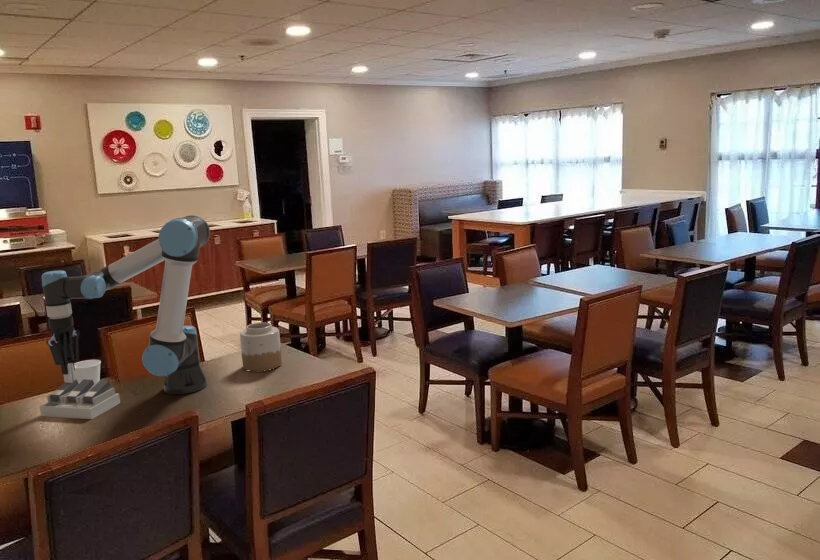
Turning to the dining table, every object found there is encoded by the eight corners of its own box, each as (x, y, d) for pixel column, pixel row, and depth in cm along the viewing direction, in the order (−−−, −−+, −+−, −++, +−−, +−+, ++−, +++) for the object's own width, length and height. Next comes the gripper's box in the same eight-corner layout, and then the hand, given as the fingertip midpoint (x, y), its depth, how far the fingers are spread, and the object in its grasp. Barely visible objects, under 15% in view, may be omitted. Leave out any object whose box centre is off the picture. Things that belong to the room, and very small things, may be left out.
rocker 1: (78, 384, 225) (76, 379, 224) (61, 400, 217) (59, 395, 216) (70, 383, 226) (68, 378, 225) (52, 399, 218) (50, 394, 217)
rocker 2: (94, 384, 223) (92, 379, 222) (78, 401, 216) (75, 396, 215) (85, 383, 224) (83, 379, 223) (69, 401, 217) (66, 396, 216)
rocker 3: (110, 385, 222) (108, 380, 221) (94, 402, 214) (92, 396, 213) (101, 385, 223) (99, 380, 222) (85, 401, 215) (82, 396, 214)
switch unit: (120, 402, 224) (118, 386, 223) (91, 419, 211) (89, 402, 210) (71, 400, 229) (69, 384, 228) (41, 416, 216) (38, 399, 214)
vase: (289, 364, 257) (286, 324, 254) (257, 375, 247) (253, 333, 243) (267, 357, 268) (264, 318, 265) (235, 367, 257) (231, 327, 254)
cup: (93, 397, 231) (88, 368, 228) (68, 397, 233) (64, 368, 230) (110, 387, 240) (106, 359, 238) (87, 387, 242) (83, 359, 240)
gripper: (65, 310, 226) (75, 374, 231) (35, 321, 213) (46, 388, 218) (83, 311, 225) (93, 375, 229) (53, 321, 212) (64, 389, 216)
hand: (70, 381), depth 224 cm, fingers closed, pressing on rocker 1
